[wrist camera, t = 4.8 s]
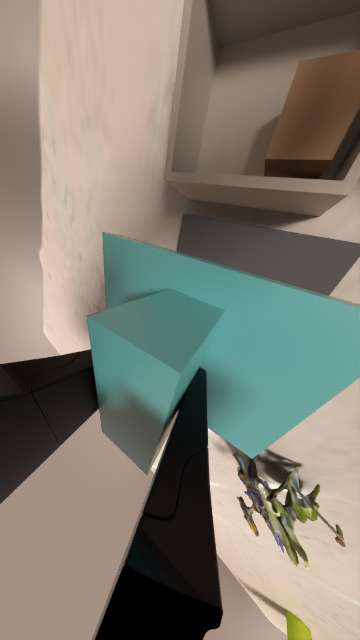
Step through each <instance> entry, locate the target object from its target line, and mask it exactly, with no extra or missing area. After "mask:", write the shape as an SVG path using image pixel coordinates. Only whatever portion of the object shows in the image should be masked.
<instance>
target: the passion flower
mask: <svg viewBox="0 0 360 640" xmlns="http://www.w3.org/2000/svg"><path fill="white" fill-rule="evenodd" d="M233 456H234V457H235V458H236V460H237V462H238V463H239V466H238V467H237V470H238V476H239V477H240V480H241V481H242V482H243V483H244V485H245V487H246V488H247V492H246V491H245V494H247V495H248V496H249V498H250V499H251V500H252V502H253V505H252V507H250V508H249V507H247V506H246V505H245V503H244V500H243V498H242V497H241V496H240V498H239V497H237V499H238V500H239V502H240V506H241V508H242V510H243V513H244V518H245V519H246V520H247V522H248V523H249V525H250V527H251V529H252V530H253V533H254V534H256V536H259V534H258V530H257V528H256V525H255V523H254V521H253V519H252V516H251V515H252V514H253V512H254V511H257V512H258V513H260V515H262V516H263V518H264V519H265V522H266V523H267V525H268V527H269V529H270V530H271V531H272V533H273V535H274V537H275V540H276V541H277V544H278V546H279V544H280V546H281V549H282V551H283V553H284V549H283V545H284V546H285V548H286V551H287V553H288V555H289V557H290V559H291V561H292V562H293V563H294V564H295V565H296V566H298V564H299V561H298V556H297V553H296V551H297V552H298V554H299V555H300V556H301V557H302V558H303V560H304V562H305V567H306V568H309V564H308V559H307V556H306V553H305V551H304V550H303V548H302V547H301V545H300V544H299V542H298V540H297V538H296V536H295V534H294V522H295V521H296V517H297V519H299V520H300V522H303V523H305V522H306V520H307V518H308V519H310V520H312V521H315V520H317V517H318V516H319V517H320V518H321V519H322V520H323V521H324V522H325V523H326V524H327V525H328V526H329V527H330V528H331V529H332V531H333V532H334V533H335V534H336V535H337V537H336V538H335V540H336V541H337V542H338V543H339V544H340V545H341V546H342V547H345V543H344V538H343V533H342V530H341V529H340V527H339V525H337V524H336V529H337V532H336V531H335V530H334V528H333V527H332V526H331V525H330V524H329V523H328V522H327V521H326V520H325V519H324V518H323V517H322V516H321V515H320V514H319V513H318V508H319V505H318V504H317V503H316V502H315V499H316V497H317V495H318V494H319V492H320V485H319V484H317V485H316V487H315V488H314V490H313V491H312V492H311V493H310V494H308V495H307V496H306V497H305V496H304V495H303V494H302V493H301V491H300V489H299V480H298V469H299V466H300V464H298V465H297V466H296V468H295V469H294V470H293V472H292V471H291V472H289V474H286V476H285V481H284V482H283V483H282V484H281V485H280V486H279V488H277V489H270V488H269V486H268V483H267V482H266V481H262V480H261V479H260V478H258V475H257V470H256V464H255V462H254V460H253V459H251V458H250V457H249V456H247V455H246V454H245V457H246V461H245V463H244V460H243V458H242V456H241V455H240V454H239V453H238V452H234V454H233ZM291 486H292V487H293V489H291ZM284 489H287V490H288V492H287V495H286V501H285V505H282V504H281V503H280V502H279V501H278V500H277V499H276V497H277V494H278V493H279V492H281V491H282V490H284ZM296 491H297V492H298V493H299V494H300V496H301V497H302V499H298V498H297V495H296Z"/></svg>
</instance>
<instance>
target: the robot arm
mask: <svg viewBox="0 0 360 640" xmlns="http://www.w3.org/2000/svg"><path fill="white" fill-rule="evenodd" d="M98 409H99V405H98V397H97V390H96V382H95V375H94V367H93V360H92V352H91V349H90V350H85V351H82V352H81V351H80V352H75V353H70V354H65V355H60V356H53V357H47V358H40V359H33V360H27V361H19V362H13V363H5V364H0V504H1V503H2V502H3V501H4V500H5V499H6V498H7V497H8V496H9V495H10V494H11V493H12V492H13V491H14V490H15V489H16V488H17V487H18V486H19V485H20V484H21V483H22V482H23V481H25V480H26V479H27V478H28V477H29V476H30V475H31V474H32V473H33V472H34V471H35V470H36V469H37V468H38V467H39V466H40V465H41V464H42V463H43V462H44V461H45V460H46V459H47V458H48V457H49V456H50V455H51V454H52V453H53V452H54V451H55V450H56V449H58V448H59V446H60V445H61V444H62V443H64V442H65V441H66V440H67V439H68V438H69V437H70V436H71V435H72V434H73V433H74V432H75V431H76V430H77V429H78V428H79V427H80V426H81V425H82V424H83V423H84V422H85V421H86V420H87V419H88V418H89V417H90V416H91V415H92V414H94V413H95V412H96V411H97V410H98ZM207 447H208V416H207V372H206V370H204V369H203V368H201V367H199V369H198V370H197V372H196V374H195V375H194V377H193V379H192V380H191V382H190V384H189V386H188V388H187V391H186V393H185V396H184V398H183V401H182V403H181V406H180V408H179V411H178V413H177V416H176V419H175V421H174V424H173V427H172V429H171V432H170V434H169V437H168V440H167V442H166V445H165V448H164V450H163V453H162V456H161V458H160V461H159V464H158V466H157V469H156V472H155V474H154V477H153V479H152V482H151V485H150V487H149V490H148V493H147V496H146V498H145V501H144V503H143V506H142V509H141V511H140V514H139V517H138V519H137V522H136V525H135V527H134V530H133V533H132V535H131V538H130V540H129V543H128V546H127V548H126V551H125V554H124V556H123V559H122V561H121V564H120V567H119V569H118V572H117V575H116V577H115V580H114V583H113V586H112V588H111V591H110V593H109V596H108V599H107V601H106V604H105V606H104V609H103V612H102V614H101V617H100V620H99V623H98V625H97V628H96V630H95V633H94V636H93V638H92V640H203V638H204V635H205V633H206V632H207V631H209V630H211V629H217V628H219V626H220V624H221V619H222V615H223V609H222V600H221V591H220V582H219V573H218V563H217V553H216V544H215V534H214V525H213V516H212V505H211V494H210V481H209V457H208V448H207Z"/></svg>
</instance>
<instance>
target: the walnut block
mask: <svg viewBox="0 0 360 640" xmlns="http://www.w3.org/2000/svg"><path fill="white" fill-rule="evenodd" d="M359 108H360V50H355V51H350V52H345V53H340V54H334V55H329V56H324V57H319V58H313V59H308V60H303V61H299V64H298V67H297V70H296V72H295V75H294V78H293V81H292V84H291V87H290V89H289V92H288V95H287V98H286V101H285V103H284V106H283V109H282V112H281V115H280V117H279V120H278V123H277V126H276V129H275V132H274V134H273V137H272V140H271V143H270V146H269V148H268V151H267V154H266V157H265V168H264V177H282V178H301V179H319V178H320V177H321V175H322V174H323V172H324V171H325V169H326V168H327V167H328V165H329V164H330V162H331V161H332V160H333V158H334V156H335V154H336V152H337V150H338V148H339V146H340V144H341V142H342V141H343V139H344V137H345V135H346V133H347V131H348V129H349V127H350V125H351V123H352V122H353V120H354V118H355V116H356V114H357V112H358V110H359Z"/></svg>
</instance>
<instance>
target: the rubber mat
mask: <svg viewBox="0 0 360 640" xmlns="http://www.w3.org/2000/svg"><path fill="white" fill-rule="evenodd" d="M177 252H180V253H183V254H187V255H190V256H193V257H197V258H200V259H204V260H207V261H211V262H214V263H218V264H221V265H224V266H228V267H231V268H235V269H238V270H242V271H245V272H249V273H252V274H255V275H259V276H262V277H266V278H269V279H273V280H276V281H280V282H283V283H287V284H290V285H293V286H297V287H300V288H304V289H307V290H311V291H314V292H318V293H321V294H324V295H328V296H329V295H330V294H331V292H332V291H333V290H334V289H335V287H336V286H337V285H338V283H339V282H340V281H341V280H342V278H343V277H344V276H345V275H346V273H347V272H348V271H349V269H350V268H351V267H352V266H353V264H354V263H355V262H356V260H357V259H358V258H359V257H360V244H359V243H353V242H347V241H341V240H335V239H329V238H323V237H317V236H311V235H305V234H299V233H293V232H287V231H281V230H275V229H270V228H264V227H258V226H252V225H246V224H240V223H234V222H228V221H222V220H216V219H210V218H204V217H198V216H192V215H186V214H183V219H182V225H181V231H180V236H179V242H178V248H177Z"/></svg>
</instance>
